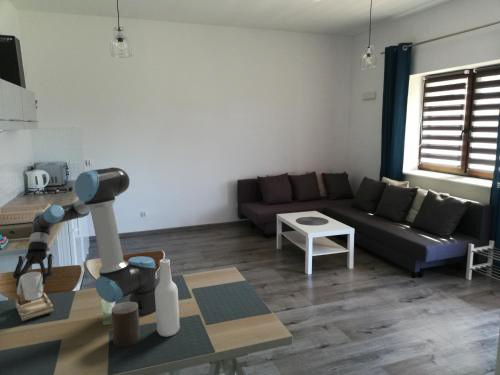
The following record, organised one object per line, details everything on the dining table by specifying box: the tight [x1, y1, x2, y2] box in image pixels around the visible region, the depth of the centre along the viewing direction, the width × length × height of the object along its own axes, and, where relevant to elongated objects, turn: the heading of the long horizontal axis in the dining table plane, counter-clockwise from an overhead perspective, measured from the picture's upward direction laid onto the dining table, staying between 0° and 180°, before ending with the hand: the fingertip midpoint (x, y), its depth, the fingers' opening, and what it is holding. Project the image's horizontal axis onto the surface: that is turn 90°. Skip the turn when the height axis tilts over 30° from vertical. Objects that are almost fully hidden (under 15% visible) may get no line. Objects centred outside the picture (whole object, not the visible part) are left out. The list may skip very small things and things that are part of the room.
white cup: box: [20, 271, 42, 300], centre depth 158 cm, size 8×8×10 cm
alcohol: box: [155, 258, 181, 337], centre depth 143 cm, size 9×9×30 cm
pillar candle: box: [111, 301, 141, 348], centre depth 139 cm, size 10×10×15 cm
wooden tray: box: [14, 291, 55, 322], centre depth 162 cm, size 18×12×4 cm, turn 40°
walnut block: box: [16, 292, 31, 305], centre depth 164 cm, size 4×4×4 cm
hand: (29, 292), depth 155 cm, fingers closed on white cup, 8 cm apart
